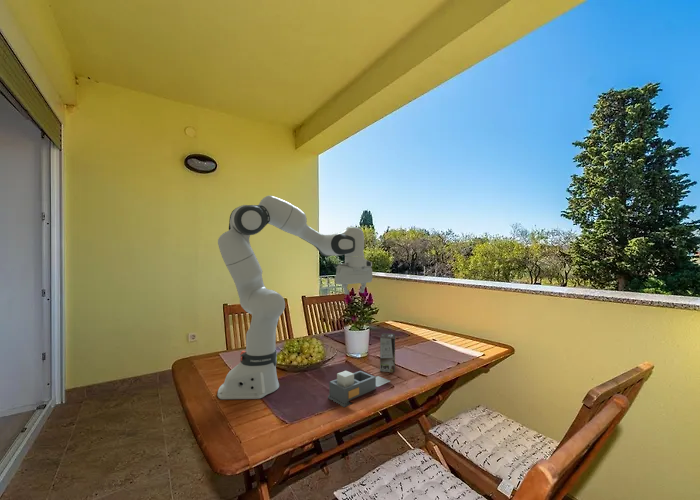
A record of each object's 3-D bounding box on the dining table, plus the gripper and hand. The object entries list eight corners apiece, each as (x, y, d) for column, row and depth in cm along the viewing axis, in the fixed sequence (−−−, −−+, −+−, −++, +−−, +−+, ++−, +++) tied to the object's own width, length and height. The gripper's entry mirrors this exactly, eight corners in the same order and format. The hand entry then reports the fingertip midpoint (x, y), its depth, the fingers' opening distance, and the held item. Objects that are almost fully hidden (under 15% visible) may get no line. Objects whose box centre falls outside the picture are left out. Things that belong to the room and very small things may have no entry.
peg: (344, 399, 105) (345, 377, 105) (336, 395, 109) (337, 373, 109) (353, 396, 108) (354, 373, 108) (345, 392, 112) (346, 370, 112)
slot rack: (344, 407, 102) (344, 389, 102) (328, 398, 109) (328, 381, 109) (392, 385, 120) (392, 370, 120) (376, 378, 126) (376, 364, 126)
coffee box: (394, 375, 129) (394, 338, 130) (379, 374, 131) (379, 337, 131) (395, 368, 138) (395, 333, 139) (381, 367, 140) (381, 332, 140)
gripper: (341, 263, 126) (341, 296, 125) (374, 262, 140) (374, 292, 139) (332, 263, 130) (332, 294, 130) (365, 262, 144) (365, 291, 144)
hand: (354, 293), depth 135 cm, fingers open, 8 cm apart
